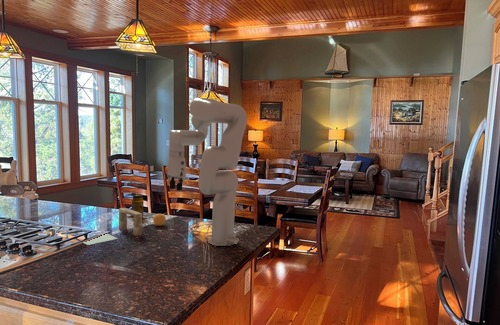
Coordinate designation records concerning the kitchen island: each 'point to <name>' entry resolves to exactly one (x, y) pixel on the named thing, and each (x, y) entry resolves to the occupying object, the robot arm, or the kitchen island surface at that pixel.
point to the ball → (159, 219)
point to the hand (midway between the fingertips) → (175, 189)
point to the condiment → (137, 205)
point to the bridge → (137, 220)
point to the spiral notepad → (100, 239)
